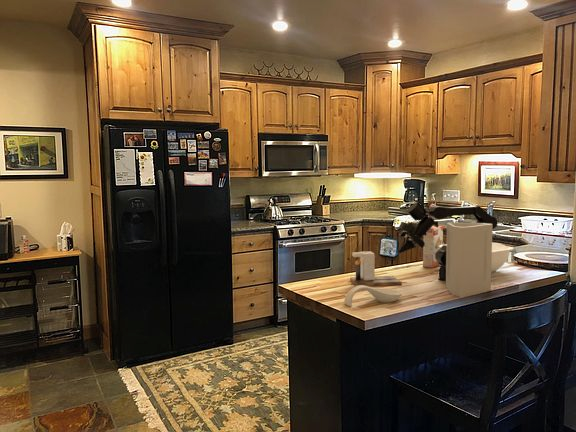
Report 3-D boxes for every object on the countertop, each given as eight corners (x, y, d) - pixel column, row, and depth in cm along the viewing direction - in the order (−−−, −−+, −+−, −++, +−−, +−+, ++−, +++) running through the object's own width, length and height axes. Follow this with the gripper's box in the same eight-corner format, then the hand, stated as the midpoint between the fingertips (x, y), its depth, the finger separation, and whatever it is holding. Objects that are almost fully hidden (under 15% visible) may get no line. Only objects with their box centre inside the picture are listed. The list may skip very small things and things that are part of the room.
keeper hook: (360, 279, 212) (360, 259, 211) (361, 280, 210) (361, 260, 209) (354, 279, 212) (354, 259, 211) (356, 280, 209) (355, 260, 208)
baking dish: (475, 280, 213) (476, 253, 212) (428, 269, 237) (429, 245, 236) (522, 271, 229) (523, 246, 228) (474, 262, 254) (474, 239, 253)
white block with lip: (370, 277, 214) (370, 251, 213) (374, 280, 208) (374, 253, 207) (351, 277, 213) (351, 252, 212) (354, 280, 207) (354, 254, 206)
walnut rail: (392, 278, 219) (392, 275, 218) (401, 284, 207) (401, 280, 207) (350, 280, 217) (350, 276, 216) (356, 286, 205) (356, 282, 204)
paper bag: (462, 283, 208) (463, 221, 205) (491, 290, 195) (493, 224, 193) (432, 289, 198) (433, 224, 195) (461, 297, 185) (463, 227, 183)
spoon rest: (390, 295, 191) (390, 278, 190) (408, 302, 180) (408, 284, 179) (339, 302, 181) (339, 284, 181) (355, 310, 171) (355, 291, 170)
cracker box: (433, 268, 240) (434, 228, 238) (422, 267, 244) (422, 227, 242) (442, 263, 251) (443, 225, 250) (432, 262, 255) (432, 224, 253)
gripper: (403, 213, 220) (380, 237, 220) (418, 217, 201) (393, 243, 201) (419, 229, 221) (396, 253, 221) (435, 235, 203) (410, 260, 203)
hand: (398, 252), depth 211 cm, fingers closed
